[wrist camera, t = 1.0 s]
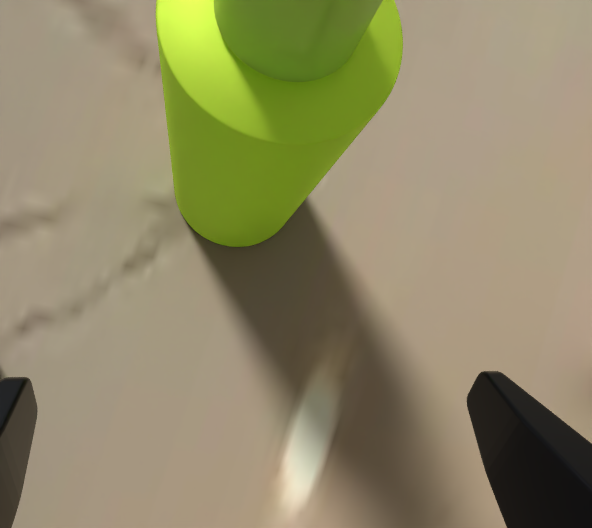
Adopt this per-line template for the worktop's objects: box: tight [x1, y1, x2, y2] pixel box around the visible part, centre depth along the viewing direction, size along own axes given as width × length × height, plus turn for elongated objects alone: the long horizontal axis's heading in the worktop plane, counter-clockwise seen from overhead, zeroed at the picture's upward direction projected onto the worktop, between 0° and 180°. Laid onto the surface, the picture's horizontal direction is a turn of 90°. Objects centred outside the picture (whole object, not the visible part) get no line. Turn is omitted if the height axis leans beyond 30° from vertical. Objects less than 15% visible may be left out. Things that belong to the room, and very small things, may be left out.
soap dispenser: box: [156, 0, 403, 247], centre depth 14 cm, size 6×7×20 cm
